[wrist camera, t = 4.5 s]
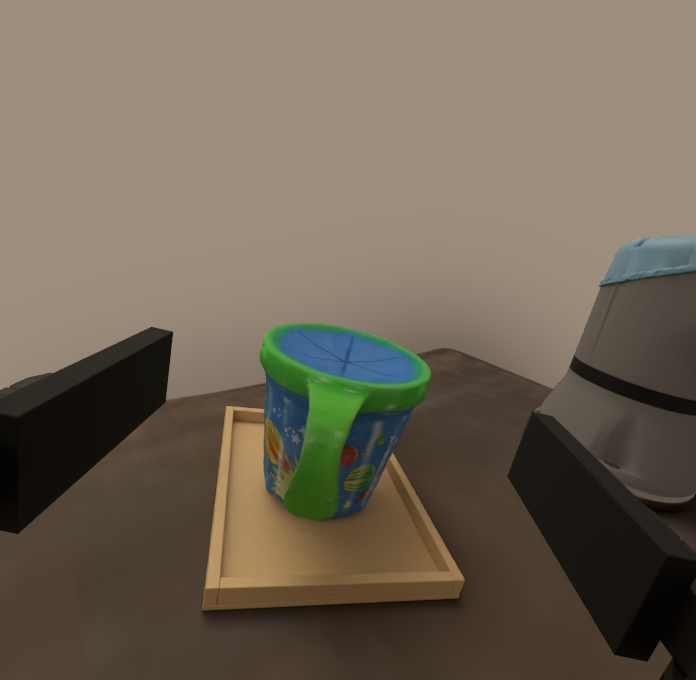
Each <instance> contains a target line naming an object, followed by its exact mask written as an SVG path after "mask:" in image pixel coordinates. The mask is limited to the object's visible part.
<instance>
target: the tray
mask: <svg viewBox="0 0 696 680" xmlns="http://www.w3.org/2000/svg"><path fill="white" fill-rule="evenodd" d="M263 442H264V409H254V408H243V407H231V406H227V407H226V413H225V420H224V428H223V437H222V445H221V454H220V462H219V471H218V479H217V488H216V496H215V505H214V513H213V522H212V530H211V538H210V547H209V555H208V564H207V572H206V581H205V589H204V598H203V606H202V610H224V609H245V608H266V607H287V606H308V605H329V604H350V603H371V602H392V601H413V600H434V599H455V598H459V595H460V592H461V589H462V587H463V584H464V581H465V579H464V577H463V576H462V574H461V572H460V570H459V569H458V567H457V565H456V563H455V561H454V560H453V558H452V556H451V554H450V553H449V551H448V549H447V547H446V546H445V544H444V542H443V540H442V539H441V537H440V535H439V533H438V532H437V530H436V528H435V526H434V525H433V523H432V521H431V519H430V518H429V516H428V514H427V512H426V510H425V509H424V507H423V505H422V503H421V502H420V500H419V498H418V496H417V495H416V493H415V491H414V489H413V488H412V486H411V484H410V482H409V481H408V479H407V477H406V475H405V474H404V472H403V470H402V468H401V466H400V465H399V463H398V461H397V459H396V458H395V456H394V454H393V453H392V455H391V457H390V458H389V460H388V462H387V465H386V468H385V470H384V472H383V474H382V476H381V478H380V480H379V482H378V484H377V486H376V488H375V489H374V491H373V493H372V495H371V497H370V499H369V500H368V503H367V504H366V506H365V507H364V508H363V509H362V510H361V511H360V512H353V513H351V514H349V515H347V516H342V517H337V518H329V519H325V520H322V521H318V520H311V519H308V518H300V517H296V516H294V515H293V514H292V513H290V512H289V511H288V510H287V509H286V508H285V507H284V504H283V503H282V502H281V501H280V500H279V499H278V498H277V497H276V496H275V495H274V494H273V493H271V492H268V491H267V489H266V482H265V478H264V470H263V459H264V448H263V447H264V445H263Z"/></svg>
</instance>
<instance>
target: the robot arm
mask: <svg viewBox="0 0 696 680" xmlns="http://www.w3.org/2000/svg"><path fill="white" fill-rule="evenodd" d="M599 286H600V287H601V288H600V291H599V294H598V296H597V299H596V301H595V304H594V306H593V309H592V311H591V314H590V316H589V319H588V322H587V324H586V327H585V329H584V332H583V334H582V337H581V339H580V342H579V344H578V347H577V349H576V352H575V354H574V357H573V359H572V362H571V364H570V367H569V369H568V371H567V374H566V375H565V376H564V378H563V379H562V380H561V381H560V382H559V383H558V385H557V386H556V387H555V388H554V389H553V390H552V392H551V393H550V394H549V395H548V397H547V398H546V399H545V401H544V402H543V403H542V405H541V406H540V407H538V408H536V409H535V411H534V412H533V411H532V413H531V414H530V417H529V419H528V423H527V425H526V428H525V431H524V434H523V437H522V439H521V442H520V445H519V447H518V450H517V452H516V455H515V458H514V460H513V463H512V466H511V468H510V471H509V473H508V478H509V480H510V481H511V483H512V485H513V486H514V488H515V490H516V491H517V493H518V495H519V496H520V498H521V500H522V501H523V503H524V505H525V506H526V508H527V510H528V511H529V513H530V515H531V516H532V518H533V520H534V521H535V523H536V525H537V526H538V528H539V530H540V531H541V533H542V535H543V536H544V538H545V540H546V541H547V543H548V545H549V546H550V548H551V550H552V551H553V553H554V555H555V556H556V558H557V560H558V561H559V563H560V565H561V566H562V568H563V570H564V571H565V573H566V575H567V576H568V578H569V580H570V581H571V583H572V585H573V586H574V588H575V590H576V591H577V593H578V595H579V596H580V598H581V600H582V602H583V603H584V605H585V607H586V608H587V610H588V612H589V613H590V615H591V617H592V618H593V620H594V622H595V623H596V625H597V627H598V628H599V630H600V632H601V633H602V635H603V637H604V638H605V640H606V642H607V643H608V645H609V647H610V648H611V650H612V652H613V653H614V655H618V656H623V657H627V658H632V659H637V660H642V661H647V662H648V660H649V658H650V656H651V655H652V653H653V651H654V649H655V648H656V646H657V644H658V642H659V641H661V642H662V643H663V645H664V646H665V647H666V649H667V650H668V652H669V653H670V654H671V656H672V657H673V658H672V659H671V661H670V663H669V664H668V666H667V668H666V670H665V671H664V673H663V675H662V676H661V678H660V680H696V552H695V551H694V550H693V549H692V548H691V547H690V546H689V545H688V544H687V543H685V542H684V541H683V540H680V537H679V536H678V535H677V534H676V533H675V532H674V531H673V530H672V529H671V528H668V525H667V524H666V523H665V522H664V521H663V520H662V519H661V518H659V517H658V516H657V515H656V514H655V513H654V512H653V511H652V510H658V511H667V512H676V511H682V510H685V509H686V508H688V506H689V505H690V503H691V501H692V499H693V497H694V495H695V494H696V237H693V236H691V237H690V236H689V237H688V236H664V237H648V238H641V239H636V240H633V241H630V242H628V243H626V244H625V245H623V246H622V247H621V248H620V249H619V250H618V251H617V253H616V255H615V257H614V259H613V261H612V263H611V265H610V267H609V270H608V272H607V274H606V276H605V278H604V280H603V281H601V282H600V285H599ZM172 337H173V332H172V331H167V330H163V329H158V328H154V327H151V328H148V329H146V330H144V331H142V332H140V333H138V334H136V335H133V336H131V337H129V338H127V339H125V340H123V341H121V342H118V343H117V344H114V345H112V346H110V347H108V348H106V349H104V350H102V351H99V352H97V353H95V354H93V355H91V356H89V357H87V358H84V359H82V360H80V361H78V362H76V363H74V364H72V365H70V366H68V367H65V368H64V369H61V370H59V371H57V372H55V373H47V374H43V375H38V376H34V377H30V378H26V379H24V380H22V381H20V382H17V383H15V384H13V385H11V386H10V387H9V388H4V389H2V390H0V530H1V531H6V532H11V533H16V534H18V533H19V532H21V531H22V530H23V529H24V528H25V527H26V526H27V525H28V524H29V523H31V522H32V521H33V520H34V519H35V518H36V517H37V516H38V515H40V514H41V513H42V512H43V511H44V510H45V509H46V508H47V507H49V506H50V505H51V504H52V503H53V502H54V501H55V500H56V499H58V498H59V497H60V496H61V495H62V494H63V493H64V492H65V491H66V490H68V489H69V488H70V487H71V486H72V485H73V484H74V483H75V482H77V481H78V480H79V479H80V478H81V477H82V476H83V475H84V474H86V473H87V472H88V471H89V470H90V469H91V468H92V467H93V466H94V465H96V464H97V463H98V462H99V461H100V460H101V459H102V458H103V457H105V456H106V455H107V454H108V453H109V452H110V451H111V450H112V449H114V448H115V447H116V446H117V445H118V444H119V443H120V442H121V441H123V440H124V439H125V438H126V437H127V436H128V435H129V434H130V433H131V432H133V431H134V430H135V429H136V428H137V427H138V426H139V425H140V424H142V423H143V422H144V421H145V420H146V419H147V418H148V417H149V416H151V415H152V414H153V413H154V412H155V411H156V410H157V409H158V408H160V407H161V406H162V405H163V404H164V403H165V401H166V392H167V383H168V374H169V365H170V355H171V345H172ZM650 509H652V510H650Z"/></svg>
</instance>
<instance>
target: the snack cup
mask: <svg viewBox="0 0 696 680" xmlns="http://www.w3.org/2000/svg"><path fill="white" fill-rule="evenodd" d="M260 361H261V364H262V366H263V368H264V370H265V373H266V384H265V400H264V442H263V445H264V447H263V448H264V459H263V470H264V478H265V482H266V489H267V491H268V492H271V493H273V494H274V495H275V496H276V497H277V498H278V499H279V500H280V501H281V502H282V503H283V504H284V507H285V508H286V509H287V510H288V511H289V512H290V513H292V514H293V515H294V516H296V517H300V518H308V519H311V520H318V521H322V520H325V519H329V518H337V517H342V516H347V515H349V514H351V513H353V512H360V511H361V510H362V509H363V508H364V507H365V506H366V504H367V503H368V500H369V499H370V497H371V495H372V493H373V491H374V489H375V488H376V486H377V484H378V482H379V480H380V478H381V476H382V474H383V472H384V470H385V468H386V465H387V462H388V460H389V458H390V457H391V455H392V453H393V451H394V449H395V447H396V445H397V443H398V441H399V439H400V437H401V435H402V433H403V431H404V428H405V426H406V423H407V421H408V419H409V417H410V414H411V412H412V410H413V409H414V407H415V406H416V405H418V404H419V403H421V402H422V400H423V399H424V398H425V396H426V393H427V389H428V385H429V382H430V378H431V371H430V369H429V367H428V365H427V364H426V363H425V362H424V361H423V360H422V359H421V358H420V357H418V356H417V355H416V354H414V353H412V352H411V351H409V350H407V349H406V348H404V347H402V346H400V345H398V344H396V343H393V342H391V341H388V340H386V339H383V338H380V337H377V336H374V335H371V334H368V333H364V332H361V331H357V330H353V329H348V328H344V327H339V326H332V325H325V324H315V323H293V324H285V325H280V326H277V327H274V328H272V329H270V330H269V331H268V332H267V333H266V334H265V336H264V340H263V344H262V348H261V351H260Z"/></svg>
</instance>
